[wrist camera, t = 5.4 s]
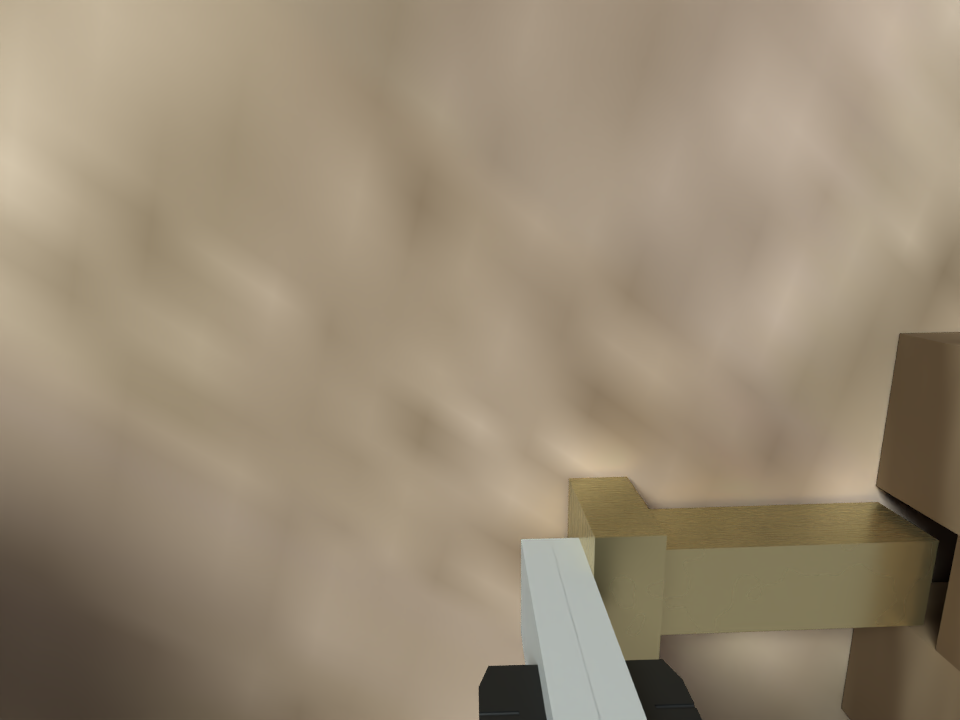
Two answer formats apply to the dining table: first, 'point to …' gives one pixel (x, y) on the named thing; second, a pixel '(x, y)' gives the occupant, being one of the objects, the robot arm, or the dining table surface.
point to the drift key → (746, 565)
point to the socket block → (945, 499)
